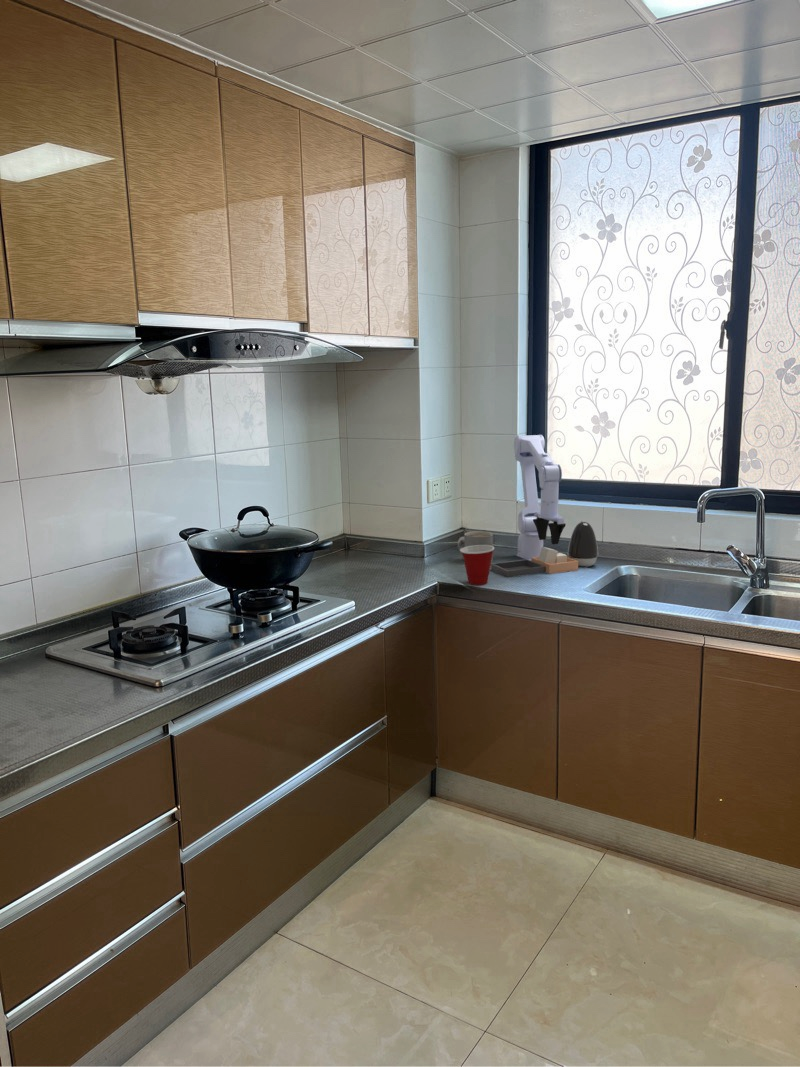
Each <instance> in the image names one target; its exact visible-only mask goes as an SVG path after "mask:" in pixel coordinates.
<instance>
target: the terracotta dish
mask: <svg viewBox="0 0 800 1067" xmlns="http://www.w3.org/2000/svg"><path fill="white" fill-rule="evenodd" d="M538 559H539V557H532V558H531V560H530V561H533V562H535V563H538V564H540V565H543V566H545V573H547V574H551V575H552V574H558V573H566V572H567V573H568V572H573V571H579V566H578V561H577V560H574V559H571V558H569V556H567V562H563V563H556V564H550V563H546V562H543V561H541V560H538Z"/></svg>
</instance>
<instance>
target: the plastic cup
mask: <svg viewBox="0 0 800 1067" xmlns="http://www.w3.org/2000/svg"><path fill="white" fill-rule="evenodd" d="M494 550H495V546H494V545H493V546H490V545H474V546H467V547H463V548H462V549H460V551H461V552H462V553H461V552H460V551H459V552H460V553H461V555H462V556H463V561H464V567H465V571H466V576H467V577H466V578H467V581H468V582H467V583H468V584H469V585H472V586H483V585H487V583H488V580H489V575H490V571H491V564H492V562H491V559H492V554H494Z"/></svg>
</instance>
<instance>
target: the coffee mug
mask: <svg viewBox="0 0 800 1067" xmlns="http://www.w3.org/2000/svg"><path fill="white" fill-rule="evenodd" d="M493 536H494V534H493V532H491V531H482V530H481V531H480V530H475V531H467V532H465V533H464V535H463V536H461V537H459V539H458V540H457V549H458V550H459V552H460V553H461V554H462V552H461V551H460V549H462V548H464V547H467V546H474V545H490V546H494V543H493V542H494V539H493V538H494V537H493ZM463 544H464V545H463ZM463 546H464V547H463ZM493 554H494V553H493ZM493 554H492V559H491V563H492V562H493V560H494V559H493V558H494V555H493Z"/></svg>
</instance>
